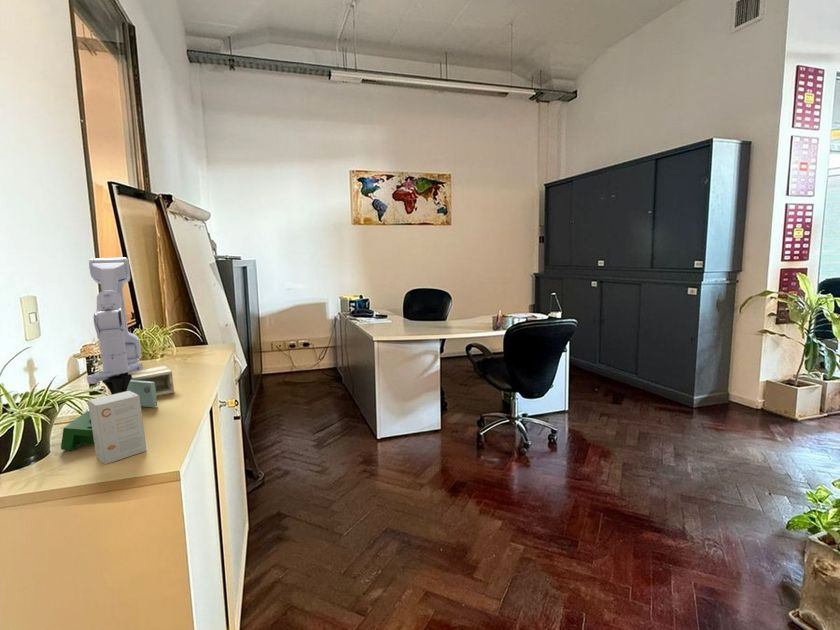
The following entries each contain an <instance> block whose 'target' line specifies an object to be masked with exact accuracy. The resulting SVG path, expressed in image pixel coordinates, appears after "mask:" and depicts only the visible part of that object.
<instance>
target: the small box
mask: <svg viewBox="0 0 840 630" xmlns="http://www.w3.org/2000/svg"><path fill="white" fill-rule="evenodd" d="M87 402H88V403H87V404H88V411H89V412H90V418H91V425H92V431H93V438H94V444H95V445H94V449H95V456H96V458H97V459H99V461H101V462H102V463H103V464H105V465H108V464H110V463H113V462H116V461H119V460H120V461H121V460H122V459H123V460H124V459H125V458H129V457H131V456H135V455H137V454H138V455H139V454H141V453H145V452H146V451H147V444H146V443H147V442H146V438H145V437H146V435H145V426H144V422H143V421H144V420H143V415H142V406H141V405H140V397H139V395H137V394H135V393H133V392H131V391H126V392H121V393H117V394H113V395H112V394H108V395H104V396H101V397H97V398H92V399H88V400H87Z"/></svg>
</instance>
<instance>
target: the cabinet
mask: <svg viewBox="0 0 840 630" xmlns="http://www.w3.org/2000/svg"><path fill="white" fill-rule="evenodd" d="M128 374H131V375H132V379H131V380H137V381H150V382H155V389H156V397H158V396H157V395H159V396H163V394H164V395H168V394H171V393H175V387H174V378H173V371H172V370H171V369H170V368H169V367H167V366H165V365H160V366H154V367H149V368H145V369H144V368H143V370H137V371H134V372H130V373H128Z"/></svg>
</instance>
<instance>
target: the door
mask: <svg viewBox="0 0 840 630" xmlns="http://www.w3.org/2000/svg"><path fill="white" fill-rule="evenodd" d="M127 391H131V392H133V393H135V394H137V395H139V397H140V405H141V407H144V408H145V407H148V408H156V407H158V400H157V397H158V396H156V389H155V382H150V381H137V380H130V382H129V385H128V388H127Z"/></svg>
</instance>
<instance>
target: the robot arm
mask: <svg viewBox="0 0 840 630" xmlns="http://www.w3.org/2000/svg"><path fill="white" fill-rule="evenodd" d="M88 265H89V266H88V267H89V268H88V269H89V274H90V277H91V278H92V279H93V281H94V282H95V283H96V284H100V288H101V291H100V292H98V294H97V296H96V313H93V325H94V329H95V331H96V337H97V339H98V343H99V350H100V357H101V364H102V370H100V371H99V372H96V373H93V374H90V375H87V376H86V381H87V384H93V385H94V384H97V383H98V382H102V383H103V384H104V385H105V386H106V387H107V389H108V391H109V392H110V393H111V395H113V394H117V393H121V392H126V391H127V388H128V385H129V382H130V380H131V379H132V375H131V374H128V373H130V372H134V371H137V370H143V369H144V366H143V362H138V361H139V360H141V359H142V347H141V341H140V338H139V337H138V335H136V334H135V333H132V332H130V331H129V328H128V327H129V326H128V319H127V311H126V305H125V297H124V289H123V288H124V285H125V284H126V283H128V282H130V281H131V269H130V262H129V259H128V258H127V257H125V256H124V257H111V258H110V257H108V258H107V257H106V258H105V257H104V258H93V257H91V258H90V259H89V261H88Z"/></svg>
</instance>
